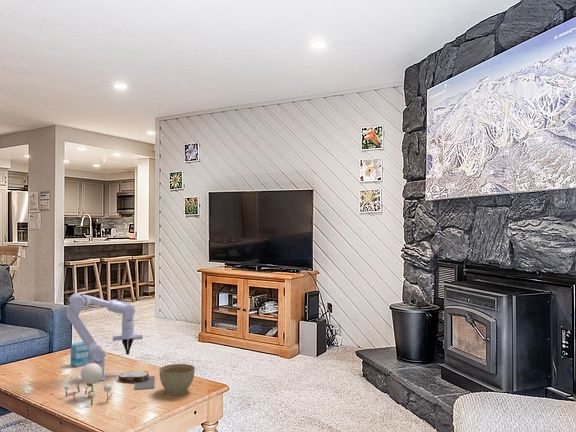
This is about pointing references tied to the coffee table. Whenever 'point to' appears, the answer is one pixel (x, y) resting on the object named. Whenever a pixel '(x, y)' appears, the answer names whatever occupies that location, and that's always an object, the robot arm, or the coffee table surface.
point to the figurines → (90, 380)
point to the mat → (146, 384)
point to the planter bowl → (176, 378)
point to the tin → (133, 377)
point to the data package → (79, 354)
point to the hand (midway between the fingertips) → (127, 353)
